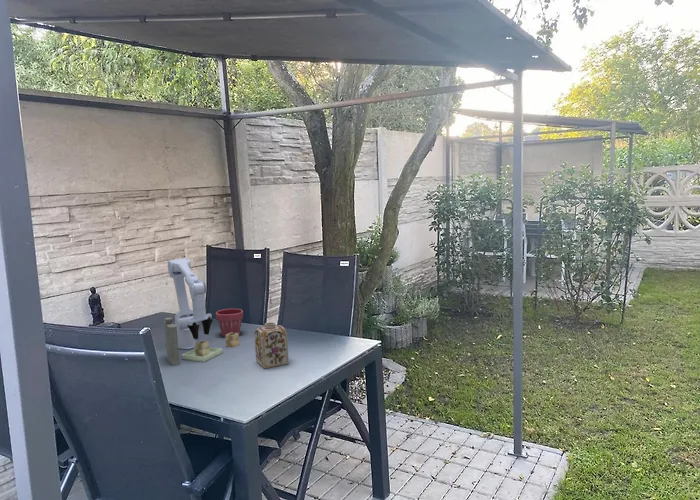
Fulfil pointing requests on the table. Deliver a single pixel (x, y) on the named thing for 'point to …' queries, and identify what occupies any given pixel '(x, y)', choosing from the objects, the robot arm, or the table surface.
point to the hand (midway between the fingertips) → (201, 336)
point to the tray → (193, 357)
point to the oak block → (232, 339)
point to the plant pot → (229, 320)
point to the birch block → (202, 348)
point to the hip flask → (171, 341)
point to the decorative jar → (271, 345)
